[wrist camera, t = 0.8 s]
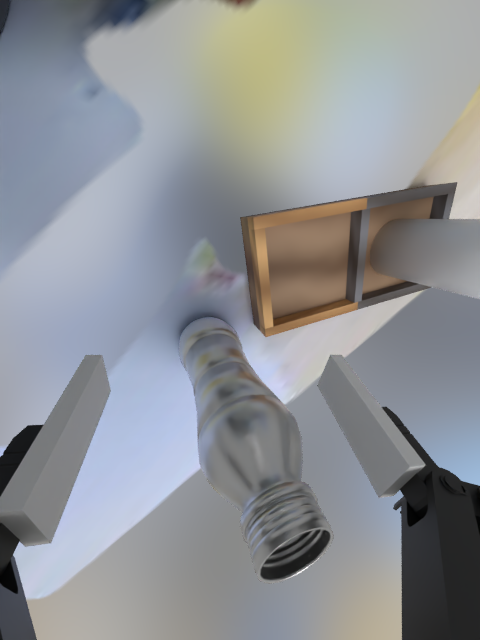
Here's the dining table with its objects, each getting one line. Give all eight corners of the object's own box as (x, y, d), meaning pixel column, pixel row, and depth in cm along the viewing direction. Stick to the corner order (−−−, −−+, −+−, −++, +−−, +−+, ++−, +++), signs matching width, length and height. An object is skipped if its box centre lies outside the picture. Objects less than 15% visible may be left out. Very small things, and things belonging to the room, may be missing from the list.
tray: (240, 217, 23) (253, 217, 20) (425, 186, 28) (457, 182, 25) (254, 324, 28) (265, 337, 25) (407, 280, 34) (432, 286, 31)
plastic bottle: (209, 299, 25) (326, 478, 8) (243, 338, 29) (379, 525, 11) (163, 337, 25) (180, 599, 8) (203, 371, 29) (276, 610, 11)
